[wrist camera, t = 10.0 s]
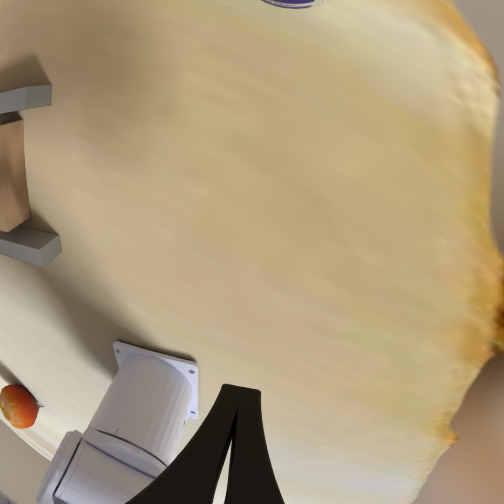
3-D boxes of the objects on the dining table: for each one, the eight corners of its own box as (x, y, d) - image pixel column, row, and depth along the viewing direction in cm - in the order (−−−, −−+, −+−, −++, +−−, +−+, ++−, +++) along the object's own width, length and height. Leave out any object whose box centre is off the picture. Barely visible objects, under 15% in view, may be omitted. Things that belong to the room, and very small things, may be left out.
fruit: (37, 419, 40) (6, 430, 32) (22, 380, 41) (-11, 389, 33) (55, 421, 37) (19, 435, 30) (38, 378, 38) (0, 388, 31)
